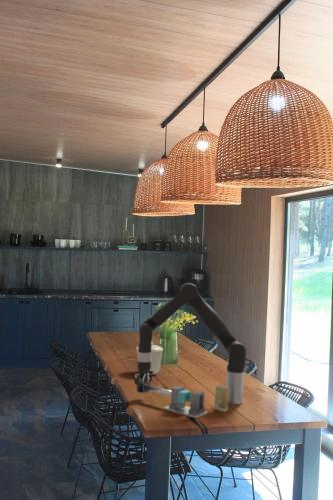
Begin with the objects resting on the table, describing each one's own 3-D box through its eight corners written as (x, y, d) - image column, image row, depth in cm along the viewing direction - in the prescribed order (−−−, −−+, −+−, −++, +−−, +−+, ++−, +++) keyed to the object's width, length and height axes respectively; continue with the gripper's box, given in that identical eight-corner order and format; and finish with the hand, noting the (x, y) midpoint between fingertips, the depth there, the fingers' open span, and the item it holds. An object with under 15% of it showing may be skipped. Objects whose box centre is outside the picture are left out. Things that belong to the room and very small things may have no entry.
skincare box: (213, 409, 266) (215, 386, 266) (217, 407, 269) (219, 384, 269) (224, 412, 262) (226, 388, 262) (228, 410, 266) (229, 386, 266)
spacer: (184, 400, 264) (184, 389, 264) (190, 401, 262) (191, 391, 262) (177, 402, 259) (178, 391, 259) (183, 404, 257) (184, 393, 257)
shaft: (136, 391, 276) (137, 381, 276) (142, 389, 280) (142, 380, 280) (178, 402, 260) (178, 392, 260) (183, 400, 264) (184, 390, 264)
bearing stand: (175, 404, 270) (176, 383, 270) (207, 413, 258) (208, 391, 259) (163, 409, 261) (164, 387, 261) (195, 418, 250) (197, 395, 250)
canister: (161, 377, 328) (163, 344, 328) (133, 375, 329) (135, 343, 329) (162, 370, 346) (164, 340, 346) (136, 369, 347) (137, 338, 347)
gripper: (147, 357, 285) (145, 387, 284) (130, 360, 273) (129, 392, 273) (157, 359, 280) (156, 390, 280) (141, 363, 269) (139, 395, 268)
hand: (142, 391), depth 276 cm, fingers closed on shaft, 5 cm apart
